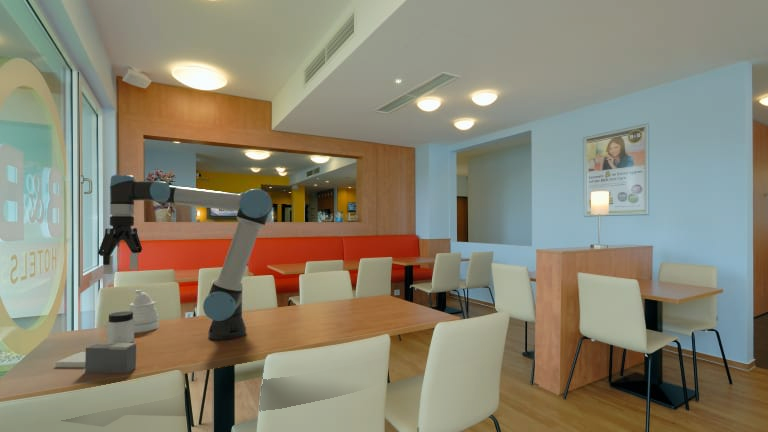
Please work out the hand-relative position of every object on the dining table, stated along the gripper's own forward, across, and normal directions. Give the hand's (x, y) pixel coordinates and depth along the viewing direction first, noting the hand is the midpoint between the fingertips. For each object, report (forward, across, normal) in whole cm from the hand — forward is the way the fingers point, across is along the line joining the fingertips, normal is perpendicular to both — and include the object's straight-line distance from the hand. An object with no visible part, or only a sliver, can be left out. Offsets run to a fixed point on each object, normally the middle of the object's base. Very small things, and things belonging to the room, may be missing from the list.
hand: (121, 271), depth 140 cm
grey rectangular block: (+30, +18, +10) cm, 37 cm away
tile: (+29, +10, -1) cm, 31 cm away
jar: (+30, -10, -7) cm, 33 cm away
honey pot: (+30, -31, -12) cm, 45 cm away
